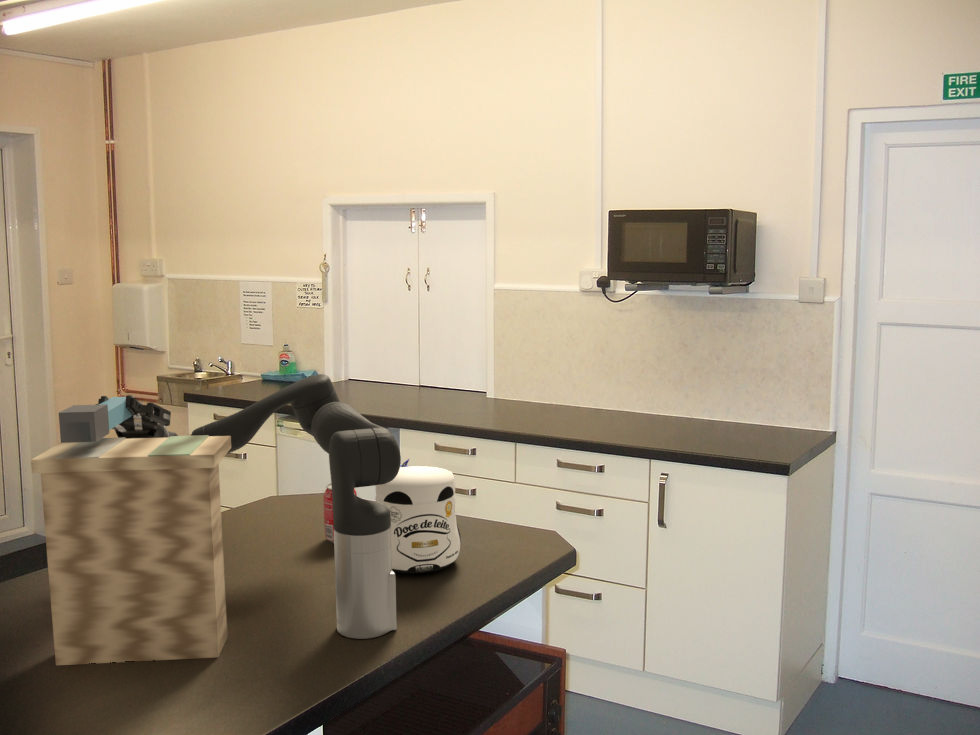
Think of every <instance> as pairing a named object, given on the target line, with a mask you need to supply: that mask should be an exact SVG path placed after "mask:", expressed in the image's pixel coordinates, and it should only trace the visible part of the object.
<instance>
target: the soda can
mask: <svg viewBox="0 0 980 735" xmlns="http://www.w3.org/2000/svg"><path fill="white" fill-rule="evenodd" d="M325 487H326V489H325V490H324V492H323V516H324V517H323V522H324V524H323V525H324V527H323V528H324V536H325V539H326V540H327V541H328V542H329V541H330V543H332V544H334V521H333V503H332V485H331V482H330V483H327V485H326V486H325ZM354 494H355V495H356V496H357V497H358V495H357V491H356V488H354Z"/></svg>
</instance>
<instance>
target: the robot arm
mask: <svg viewBox="0 0 980 735" xmlns="http://www.w3.org/2000/svg"><path fill="white" fill-rule="evenodd" d="M125 397H126V408H127V409H128V411H129V412H130V413H131V414H134V415H132V416H131V417H129V418H128V419H126V420H125V421H123V422H122V423H120V424H118V425H117V426H115V427H114V428H112V429H111V430H114V431H115V434H116V436H117V438H123V437H126V439H131V438H167V437H170V436H179V435H178V433H176V432H174V431H168V429H167V427H170V426H171V416H172V414H171V413H172V412H171V411H170V410H168V409H165V407H162V406H159V405H158V404H156V403H153V402H146V404H144V403H143V402H142V401H139V400H138V399H137V398H135V397H134V396H132V394H131V395H129V394H127V395H126V396H125ZM133 397H134V398H133ZM109 399H110V398H109V397H108V396H106V395H101V396H100V398H98V401H97V403H96V404H94V405H99V404H101V403H103V402H105V401H107V400H109ZM289 404H290V405H291V408H292V409H293V412H294V415H295V417H296V420H297V421H298V423H299V425H300V427H301V428H302V430H303V431H304V432H306V434H308V435H310V436H312V437H313V438H314V440H315V441H316V443H317V445H318V446H320V448H321V449H322V450H323V452H325V453H327V454H328V463H329V472H330V483H331V485H332V503H333V521H334V543H333V544H334V545H333V546H334V548H333V550H334V551H333V552H334V574H335V575H334V576H335V582H334V583H335V607H336V608H335V609H336V610H335V611H336V615H335V616H336V629H337V632H338V634H340V635H341V636H344V637H346V638H350V639H358V640H359V639H361V640H362V639H363V640H364V639H373V638H377V637H381V636H383V635H386V634H387V633H389V632H391V631H396V630H397V627H398V626H397V591H396V590H397V588H396V586H397V583H396V582H397V581H396V580H397V578H396V572H394V571H393V570H392V555H391V515H390V511H389V509H388V508H387V507H386V506H384V505H382V504H380V503H376V501H372V500H367V499H364V498H361V497H360V496H358V495H357V496H356V495H355V494H354V489H356V488H365V487H373V486H374V487H376V485H382V484H386V483H388V482H390V481H392V480H393V479H394V478H395V477H396V476H397V474H398V472H399V469H400V465H402V464H401V462H402V460H401V459H402V457H401V452H400V447H399V444H398V441H397V439H396V438H395V437H394V435H393V433H391V431H390V430H389V429H388V428H385V427H383V426H381V425H378V424H376V423H373V422H371V421H370V420H369V419H367V418H366V417H365V416H363V415H362V414H361V413H360V412H359V411H358V410H357V409H356V408H355V407H353V406H351V405H350V404H348V403H346V402H341V401H340V399H339V396H338V394H337V392H336V390H335V387H334V385H333V382H332V380H331V378H330V377H329V376H328V375H326V374H320V373H319V374H314V375H311V376H307V377H305V378H302V379H300V380H298V381H295V382H292V383H291V384H290V385H287V386H285V387H284V388H282V389H279V390H277V391H275V392H273V393H271V394H269V395H268V396H265V397H264V398H262V399H259V400H258V401H256V402H254V403H253V404H251V405H249V406H247V407H245V408H243V409H241V410H239V411H237V412H235V413H232V414H231V415H229V416H228V415H227V416H226V417H223V418H221V419H218V420H215V421H212V422H210V423H207V424H205V425H201V426H199V427H198V428H195V429H194V430H192V432H191V435H190V436H196V435H209V436H231V449H230V450H229V451H228V452H227V454H226V455H228V454H230V453H233V452H235V451H237V450H240V449H242V448H243V447H245V446H246V445H248V443H250V441H251V440H252V439H253V438H254V437H255V436H256V435H257V433H258V432H259V431H260V429H261V427H263V425H264V423H266V422H267V421H268V420H269V418H270V417H271V416H272V415H273V414H274V413H276V412H277V411H278V410H280V409H281V408H283V407H285V406H288V405H289Z"/></svg>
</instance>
